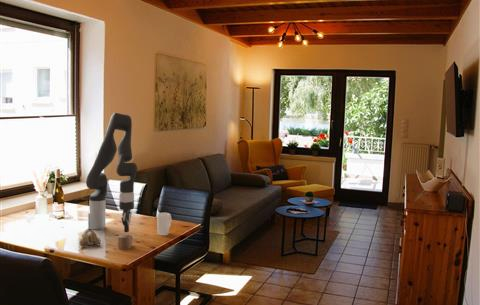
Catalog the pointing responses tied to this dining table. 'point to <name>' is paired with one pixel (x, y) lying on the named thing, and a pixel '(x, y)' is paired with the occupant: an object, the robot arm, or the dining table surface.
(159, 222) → the mug
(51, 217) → the dining table surface
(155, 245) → the dining table surface
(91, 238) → the ceramic sculpture
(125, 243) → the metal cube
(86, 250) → the dining table surface
